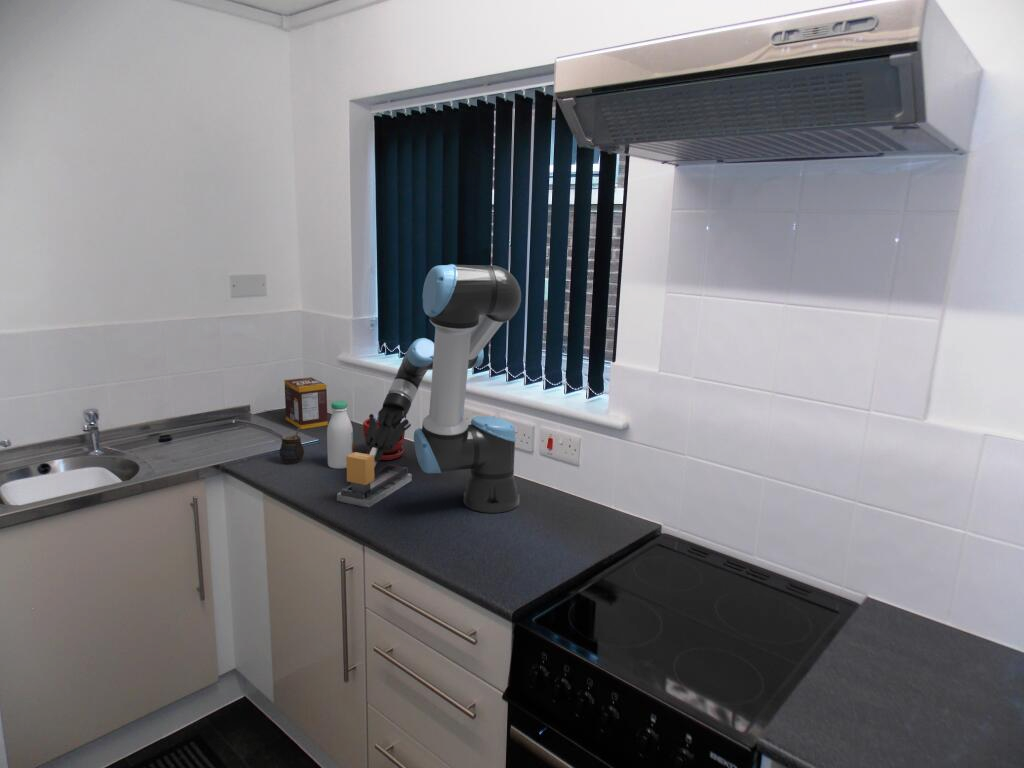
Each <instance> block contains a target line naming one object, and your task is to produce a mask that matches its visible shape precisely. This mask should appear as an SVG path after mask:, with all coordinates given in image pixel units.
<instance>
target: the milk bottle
mask: <svg viewBox="0 0 1024 768" xmlns="http://www.w3.org/2000/svg"><path fill="white" fill-rule="evenodd" d="M331 410H332V411H331V417H330V420H328V425H327V428H326V432H327V433H326V441H327V442H326V444H327V447H326V448H327V449H326V450H327V465H328V467H330V468H332V469H339V470H341V469H347V462H346V456H348V455H350V454H352V453H354V452H355V451H354V432H353V430H354V429H353V425H352V421H351V420H350V417H349V416H348V413H347V410H348V402H347V401H344V400H335V401H332V402H331Z"/></svg>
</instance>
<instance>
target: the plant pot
mask: <svg viewBox="0 0 1024 768" xmlns="http://www.w3.org/2000/svg"><path fill="white" fill-rule="evenodd" d="M378 421H379V422H380V419H379V420H378ZM379 422H377V429H378V427H379ZM369 423H370V418H369V417H368V418H367V419H365V420H364V421H363V423H362V426H363V427H362V430H363V436H364V440H365V441H364V442H366V437H367V433H368V428H369ZM397 427H398V426H397ZM377 429H376V431H377ZM405 432H406V431H405ZM405 432H404V433H403V435H402V436H401V437H400V439H399V440H398V442H397V443H396V445H395V446H394V447H393V449H392V450H391V451H385V452H384V453H383V455H382V457H381V459H380V461H390V460H395V459H398V458H400V457H401V456H402V455H404V451H405V449H404V447H402V446H403V444H404V441H405V435H406V434H405ZM366 447H367V448H368V449H367V450H366V454H367V453H368V451H369V449H370V448H369V447H368V446H367V445H366Z"/></svg>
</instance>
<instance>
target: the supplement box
mask: <svg viewBox="0 0 1024 768" xmlns="http://www.w3.org/2000/svg"><path fill="white" fill-rule="evenodd" d="M327 391H328V390H327V384H326V383H324V382H322V381H320V380H317V379H316V378H313V377H312V376H310V377H308V376H307V377H299V378H292V379H291V378H289V379H284V400H285V420H286V421H287V422H289V423H290V424H292V425H293V426H295V427H297V429H298V428H300V429H299V430H306V429H312V428H317V427H323V426H328V424H329V420H328V400H327V399H328V396H327V395H328V394H327Z"/></svg>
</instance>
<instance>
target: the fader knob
mask: <svg viewBox="0 0 1024 768" xmlns="http://www.w3.org/2000/svg"><path fill="white" fill-rule="evenodd" d="M353 452H354V453H352V454H350V455H348V456H346V462H347V468H346V482H349V483H350V485H351V490H352V491H357V492H362V493H365V492H366V491H368V490H370V482H372V481H374V472H375V467H374V455H369V454H367V453H362V452H357V451H353Z"/></svg>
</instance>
